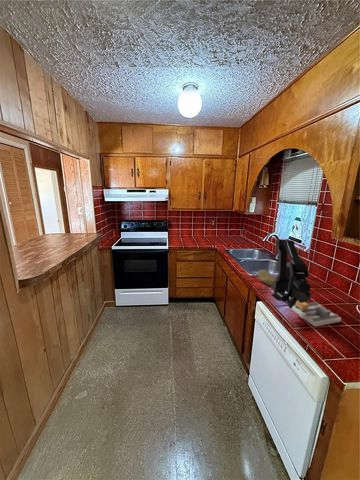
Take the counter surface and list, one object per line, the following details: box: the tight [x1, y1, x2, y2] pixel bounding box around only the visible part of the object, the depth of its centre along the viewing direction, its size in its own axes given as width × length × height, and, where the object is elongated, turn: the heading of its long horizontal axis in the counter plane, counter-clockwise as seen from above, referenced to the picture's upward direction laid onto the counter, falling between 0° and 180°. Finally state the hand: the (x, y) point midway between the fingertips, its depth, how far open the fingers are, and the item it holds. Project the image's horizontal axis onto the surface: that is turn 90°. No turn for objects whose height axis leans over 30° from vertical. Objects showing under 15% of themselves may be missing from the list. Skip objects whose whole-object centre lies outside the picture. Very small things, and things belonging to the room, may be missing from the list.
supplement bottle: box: [286, 264, 291, 280], centre depth 154 cm, size 7×7×12 cm
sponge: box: [257, 269, 276, 287], centre depth 152 cm, size 13×8×20 cm
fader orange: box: [295, 301, 309, 310], centre depth 114 cm, size 5×4×4 cm
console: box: [290, 301, 342, 328], centre depth 113 cm, size 16×18×3 cm
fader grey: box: [316, 305, 332, 317], centre depth 108 cm, size 5×4×4 cm
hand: (290, 308), depth 113 cm, fingers closed
